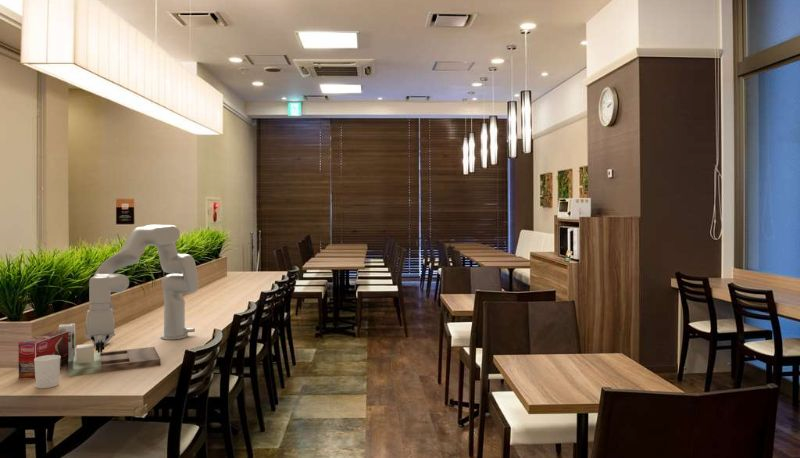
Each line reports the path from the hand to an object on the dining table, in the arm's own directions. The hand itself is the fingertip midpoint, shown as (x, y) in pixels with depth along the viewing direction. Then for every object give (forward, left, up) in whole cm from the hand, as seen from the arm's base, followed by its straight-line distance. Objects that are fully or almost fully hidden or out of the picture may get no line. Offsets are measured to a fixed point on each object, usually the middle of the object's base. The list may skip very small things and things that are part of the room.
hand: (100, 351), depth 218 cm
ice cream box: (+19, -1, -6) cm, 20 cm away
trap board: (-5, 0, -5) cm, 8 cm away
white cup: (+17, +21, -6) cm, 27 cm away
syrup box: (+12, -17, -6) cm, 22 cm away
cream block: (+5, 0, -3) cm, 6 cm away
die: (-1, -39, -6) cm, 40 cm away
